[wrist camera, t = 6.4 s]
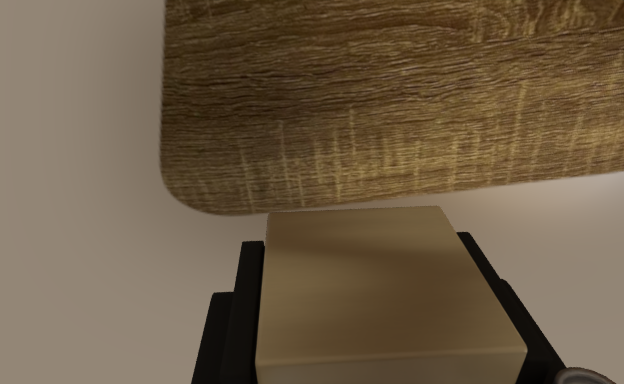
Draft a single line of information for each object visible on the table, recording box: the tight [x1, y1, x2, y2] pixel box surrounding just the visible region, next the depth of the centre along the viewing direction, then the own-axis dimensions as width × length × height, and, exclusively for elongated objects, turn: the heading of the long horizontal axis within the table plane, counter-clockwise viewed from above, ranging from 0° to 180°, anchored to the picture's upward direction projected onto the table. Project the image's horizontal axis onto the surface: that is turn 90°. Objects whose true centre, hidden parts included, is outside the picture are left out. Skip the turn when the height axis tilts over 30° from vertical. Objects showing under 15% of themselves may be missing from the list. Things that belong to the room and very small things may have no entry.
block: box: [255, 206, 527, 384], centre depth 9 cm, size 4×4×4 cm
